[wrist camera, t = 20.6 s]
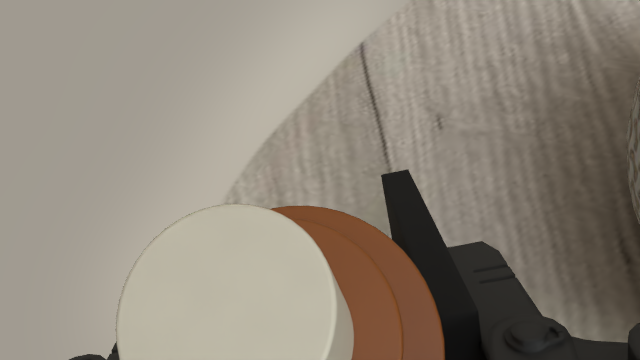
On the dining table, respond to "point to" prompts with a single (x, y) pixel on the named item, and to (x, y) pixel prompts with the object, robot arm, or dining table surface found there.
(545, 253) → the dining table surface
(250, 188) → the dining table surface
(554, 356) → the robot arm
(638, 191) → the planter
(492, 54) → the dining table surface
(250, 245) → the bottle
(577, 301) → the dining table surface
